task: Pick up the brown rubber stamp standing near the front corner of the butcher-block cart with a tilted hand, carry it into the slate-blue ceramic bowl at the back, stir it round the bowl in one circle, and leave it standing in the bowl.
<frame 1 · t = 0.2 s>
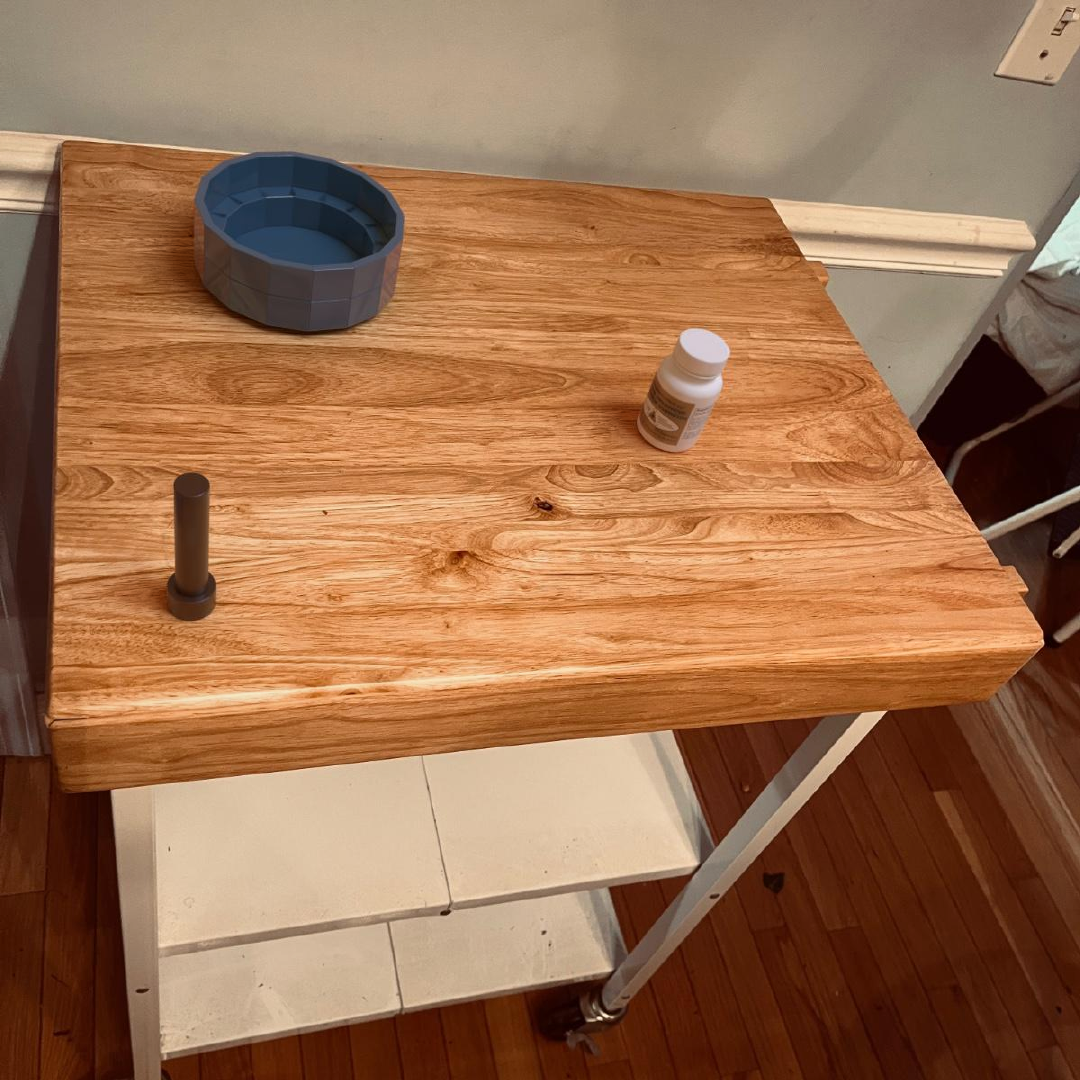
brown rubber stamp: (191, 602, 56), on the kitchen cart
pill bottle: (665, 433, 74), on the kitchen cart
bowl: (297, 275, 75), on the kitchen cart
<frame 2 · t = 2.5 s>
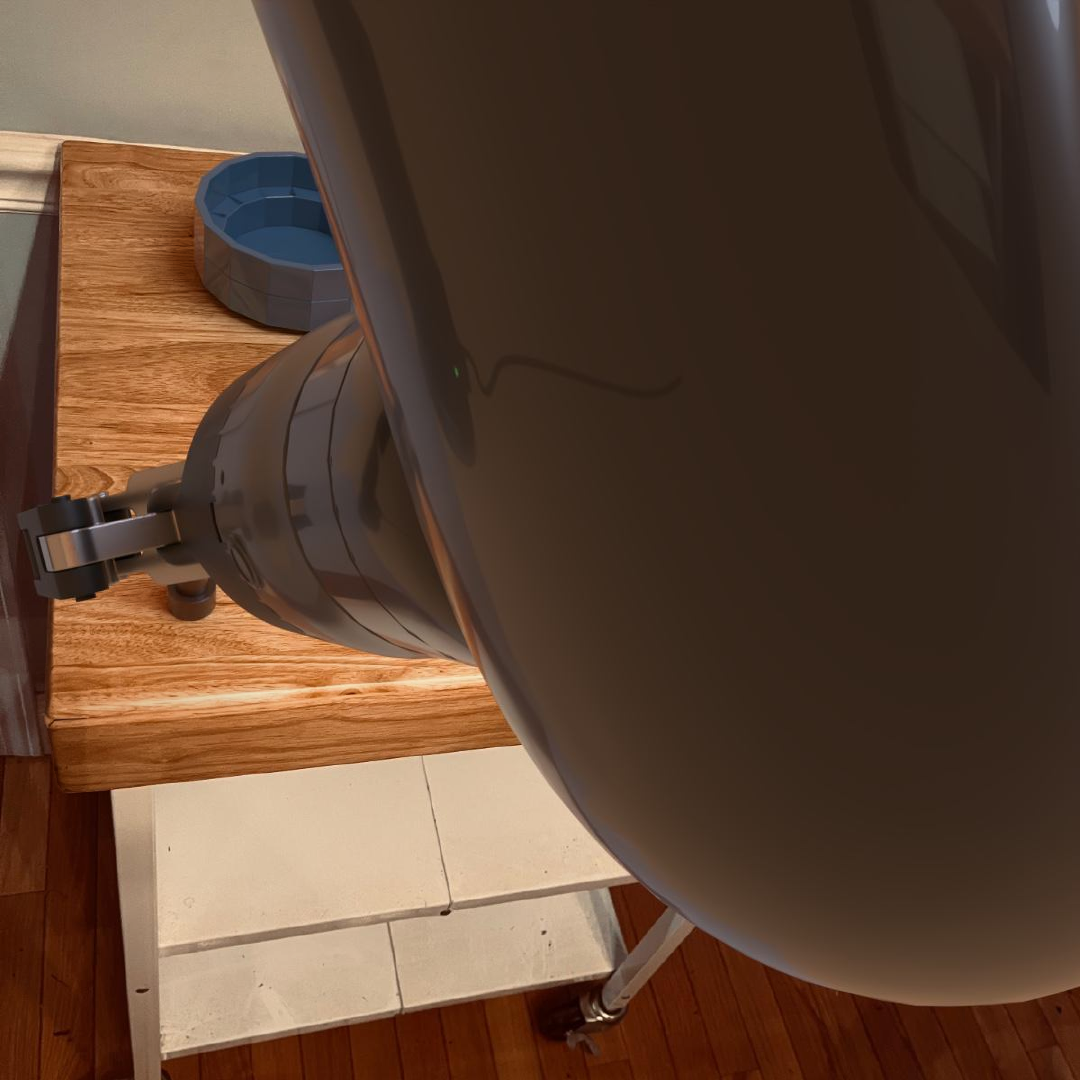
hand: (232, 507, 39), 17 cm above the kitchen cart, tool tilted 40°, fingers open, 8 cm apart
nothing on the kitchen cart moved.
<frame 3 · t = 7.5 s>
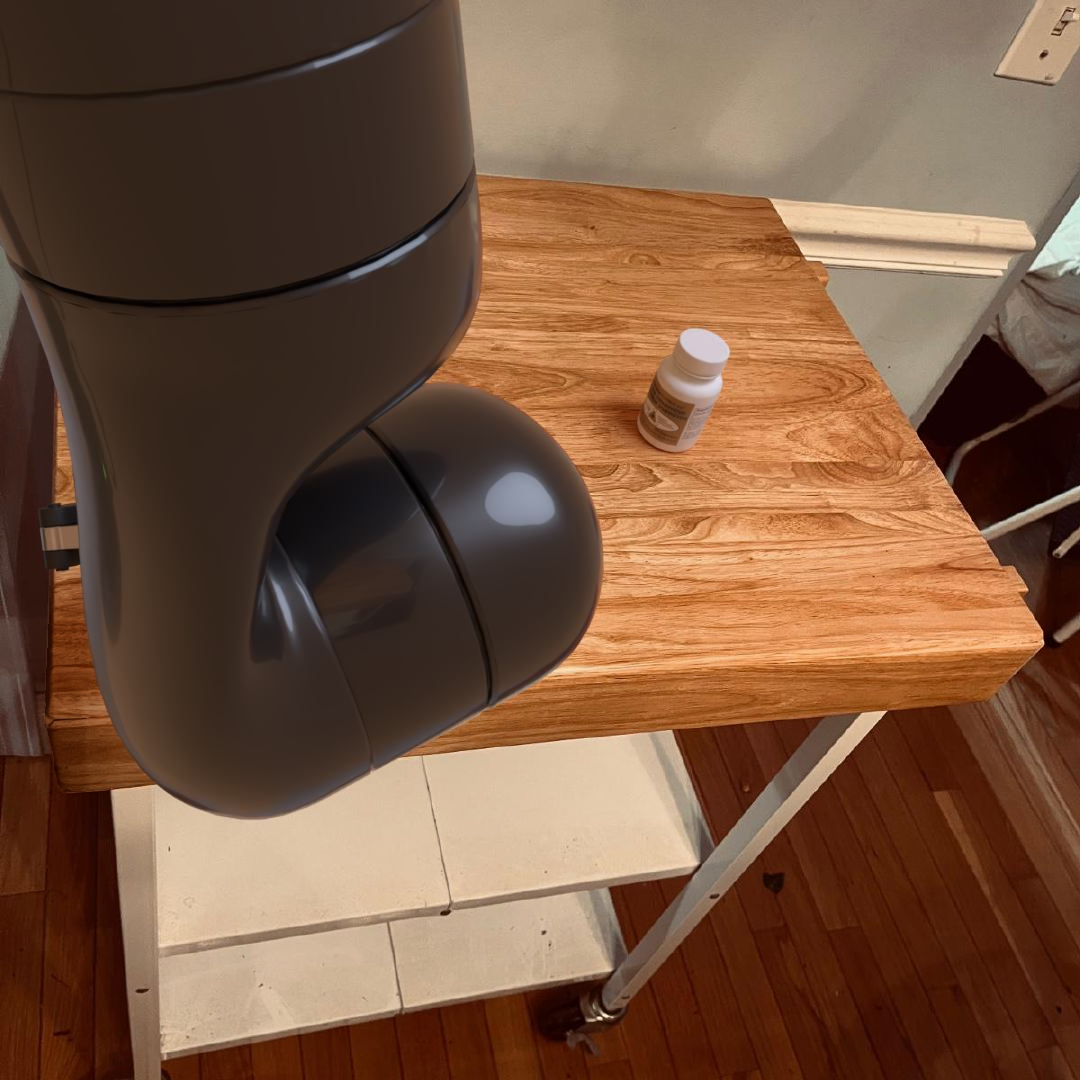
hand: (184, 510, 53), 5 cm above the kitchen cart, tool tilted 45°, fingers closed on brown rubber stamp, 1 cm apart
brown rubber stamp: (192, 602, 56), on the kitchen cart, touching gripper
everything else where it was.
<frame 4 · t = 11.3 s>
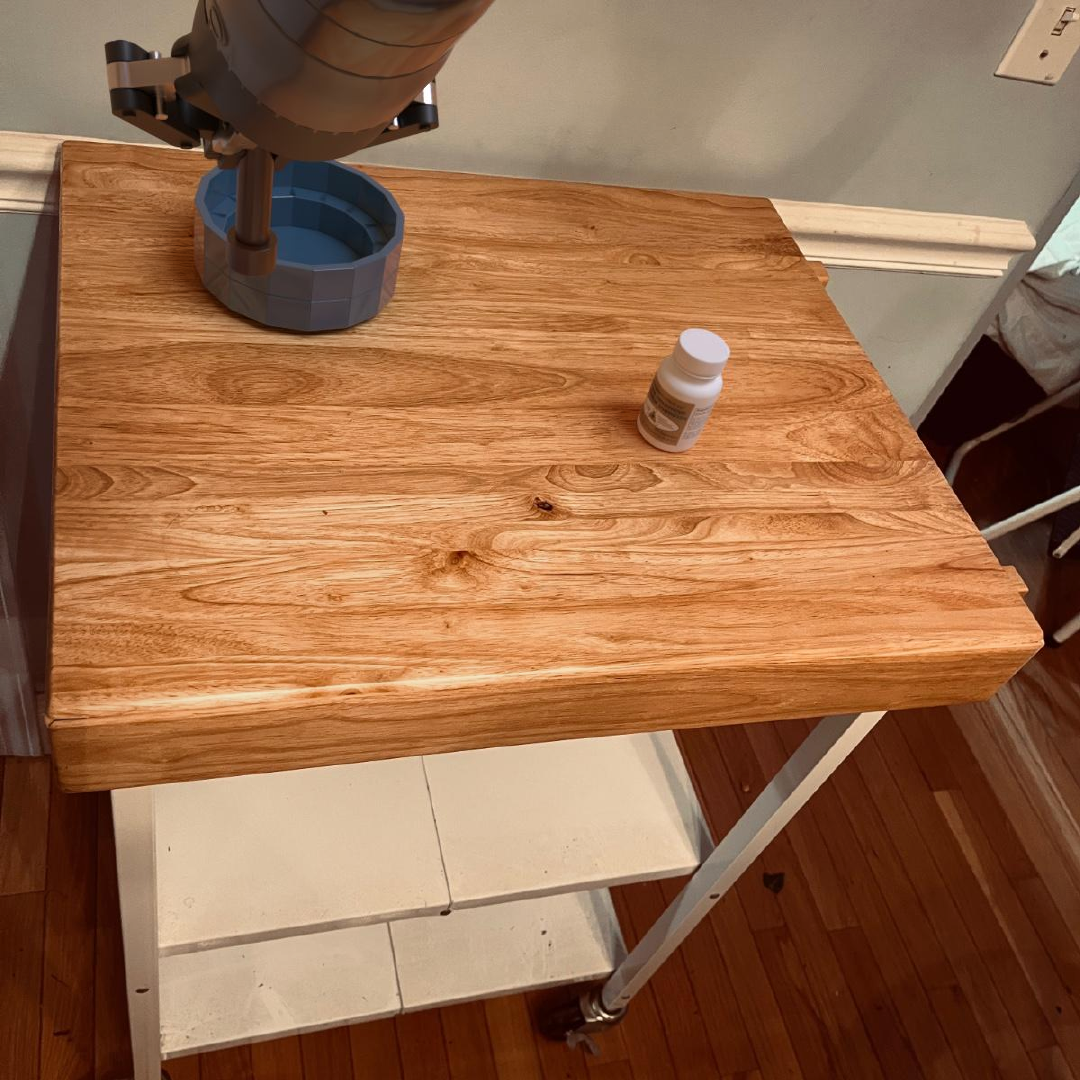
hand: (246, 148, 50), 19 cm above the kitchen cart, tool tilted 45°, fingers closed on brown rubber stamp
brown rubber stamp: (251, 262, 53), point 14 cm above the kitchen cart, touching gripper
everything else where it was.
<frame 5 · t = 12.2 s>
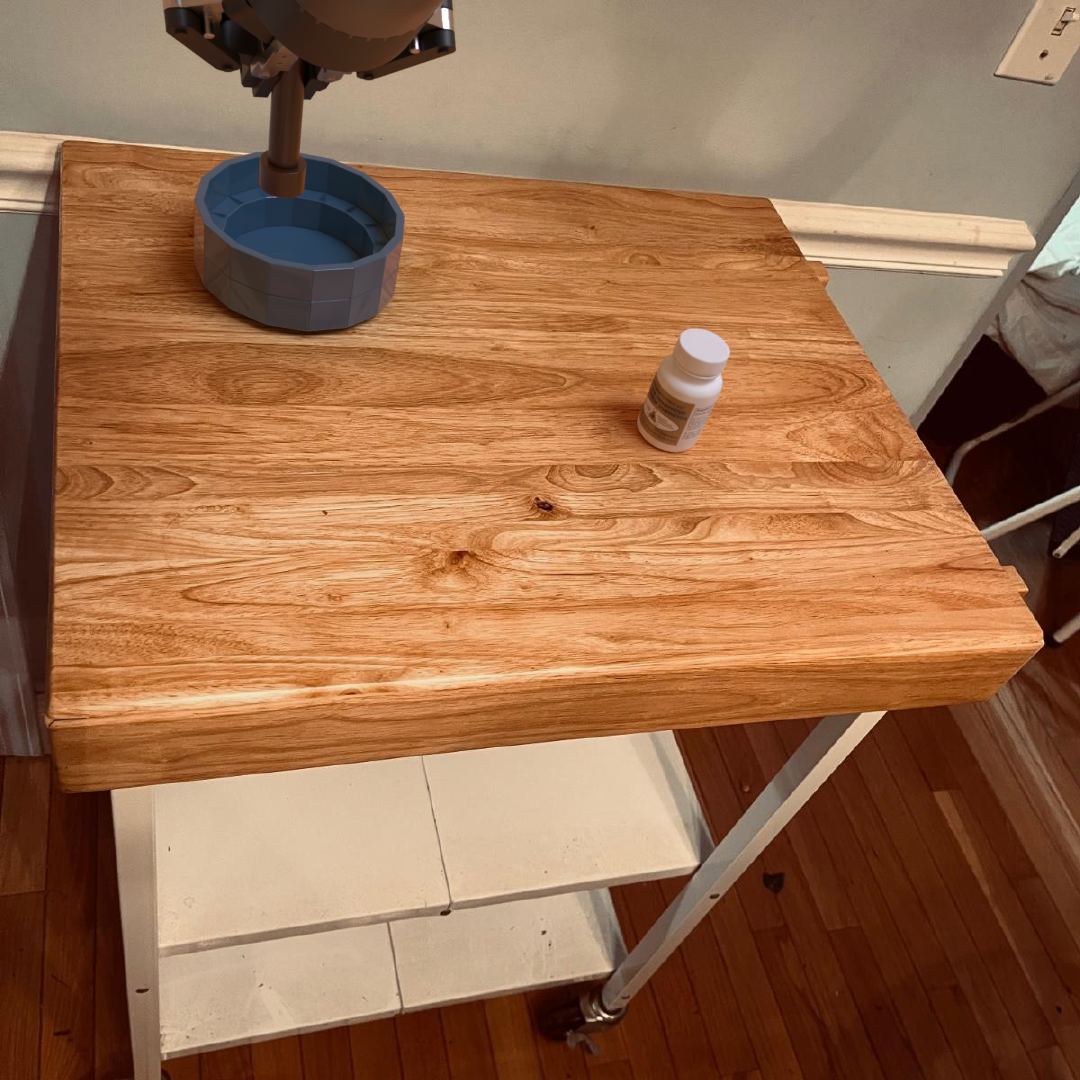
hand: (278, 78, 55), 19 cm above the kitchen cart, tool tilted 45°, fingers closed on brown rubber stamp
brown rubber stamp: (281, 186, 57), point 14 cm above the kitchen cart, touching gripper
everything else where it was.
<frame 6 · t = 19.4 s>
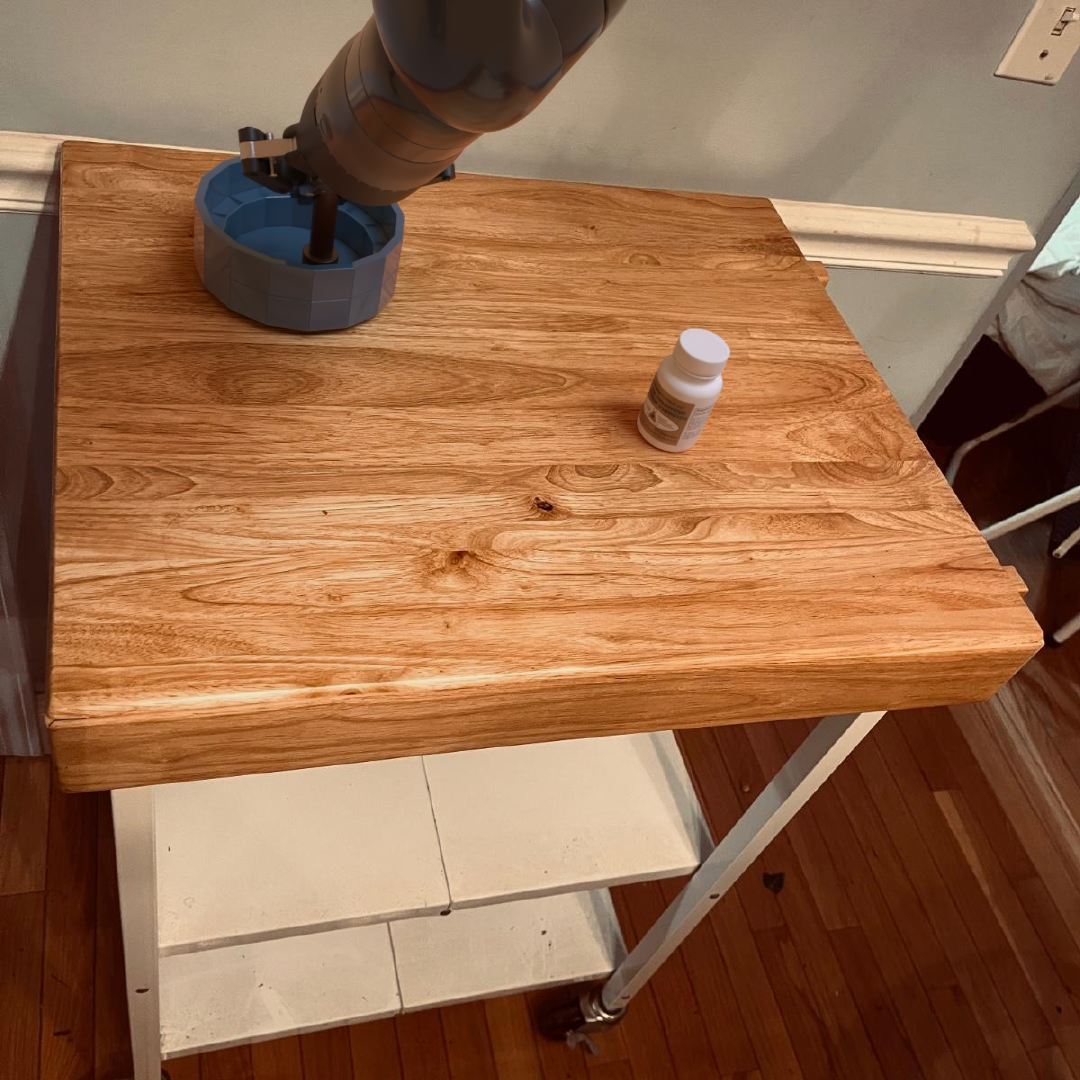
hand: (317, 189, 71), 7 cm above the kitchen cart, tool tilted 45°, fingers closed on brown rubber stamp, 1 cm apart
brown rubber stamp: (319, 269, 73), point 2 cm above the kitchen cart, touching gripper
everything else where it was.
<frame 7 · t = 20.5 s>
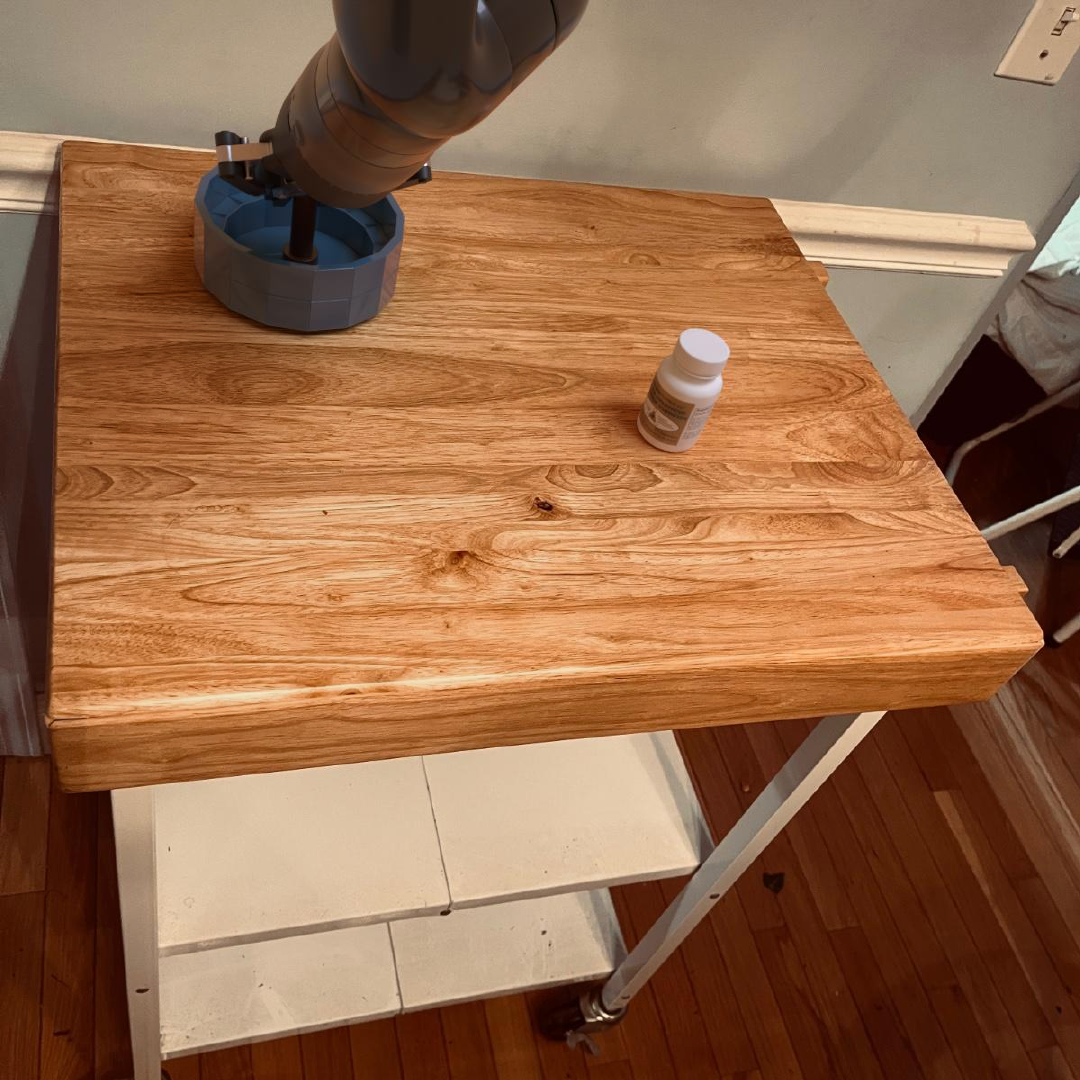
hand: (297, 191, 73), 5 cm above the kitchen cart, tool tilted 45°, fingers closed
brown rubber stamp: (299, 268, 75), point 1 cm above the kitchen cart, touching bowl
everything else where it was.
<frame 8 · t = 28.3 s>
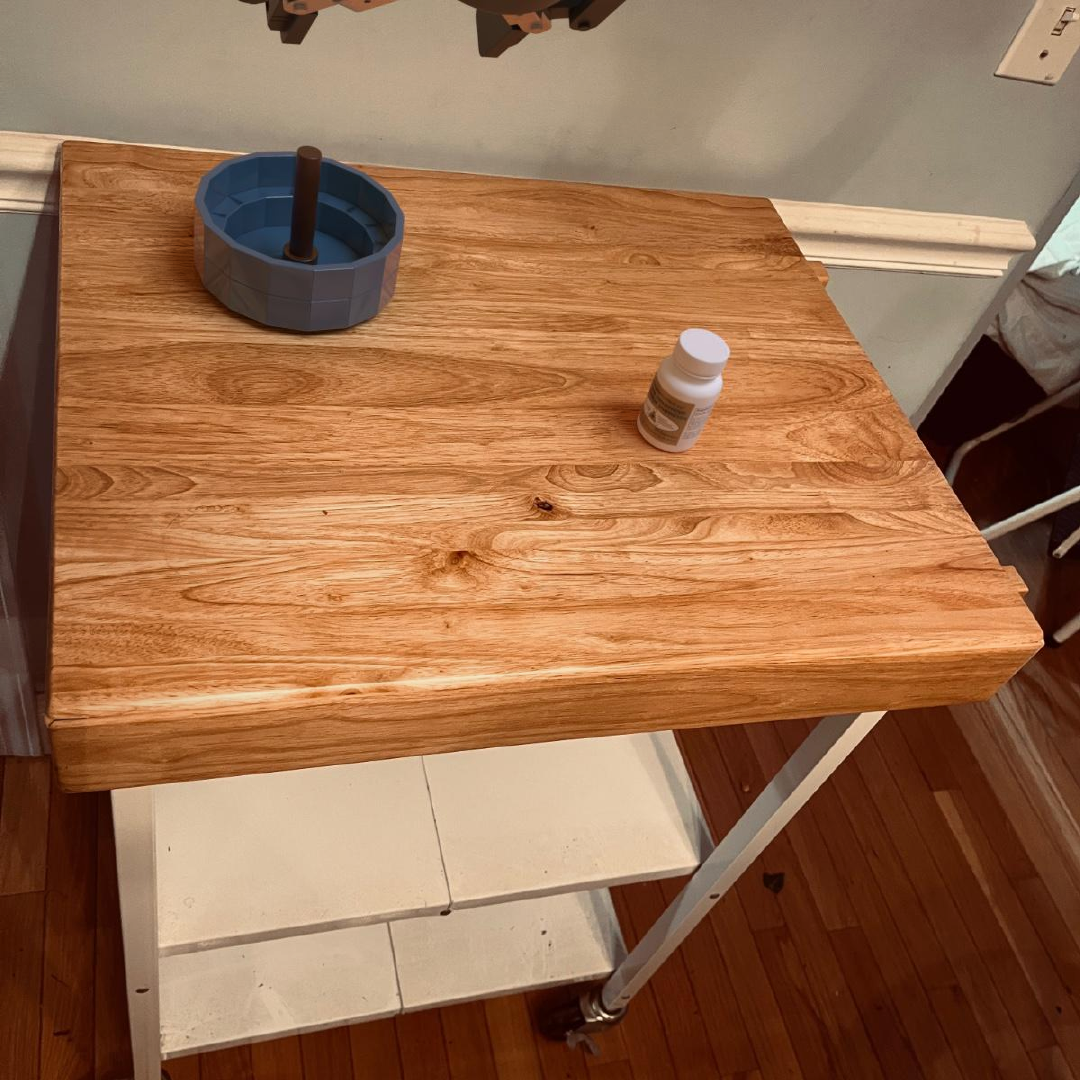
hand: (388, 27, 45), 27 cm above the kitchen cart, tool tilted 45°, fingers open, 8 cm apart
nothing on the kitchen cart moved.
at the end: brown rubber stamp inside the target area in the bowl (0.1 cm from its centre), point 0.6 cm above the bowl's base; brown rubber stamp moved 29.6 cm from its start; the gripper is holding nothing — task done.
